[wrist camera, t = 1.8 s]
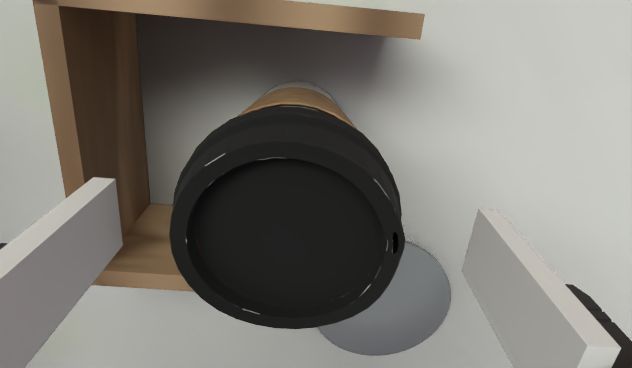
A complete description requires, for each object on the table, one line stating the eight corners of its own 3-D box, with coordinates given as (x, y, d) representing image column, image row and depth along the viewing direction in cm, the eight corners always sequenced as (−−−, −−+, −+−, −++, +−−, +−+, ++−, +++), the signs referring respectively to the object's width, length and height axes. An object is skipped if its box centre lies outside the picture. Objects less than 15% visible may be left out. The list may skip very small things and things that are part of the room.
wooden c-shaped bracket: (136, 214, 30) (80, 284, 22) (115, -17, 24) (28, -25, 16) (357, 230, 31) (372, 302, 23) (390, 10, 25) (424, 14, 17)
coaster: (304, 346, 35) (305, 351, 34) (316, 233, 31) (316, 237, 30) (433, 353, 35) (435, 358, 35) (462, 243, 31) (465, 248, 31)
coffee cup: (363, 179, 29) (412, 339, 15) (243, 189, 29) (183, 356, 15) (358, 54, 26) (416, 115, 12) (222, 66, 26) (122, 139, 12)
